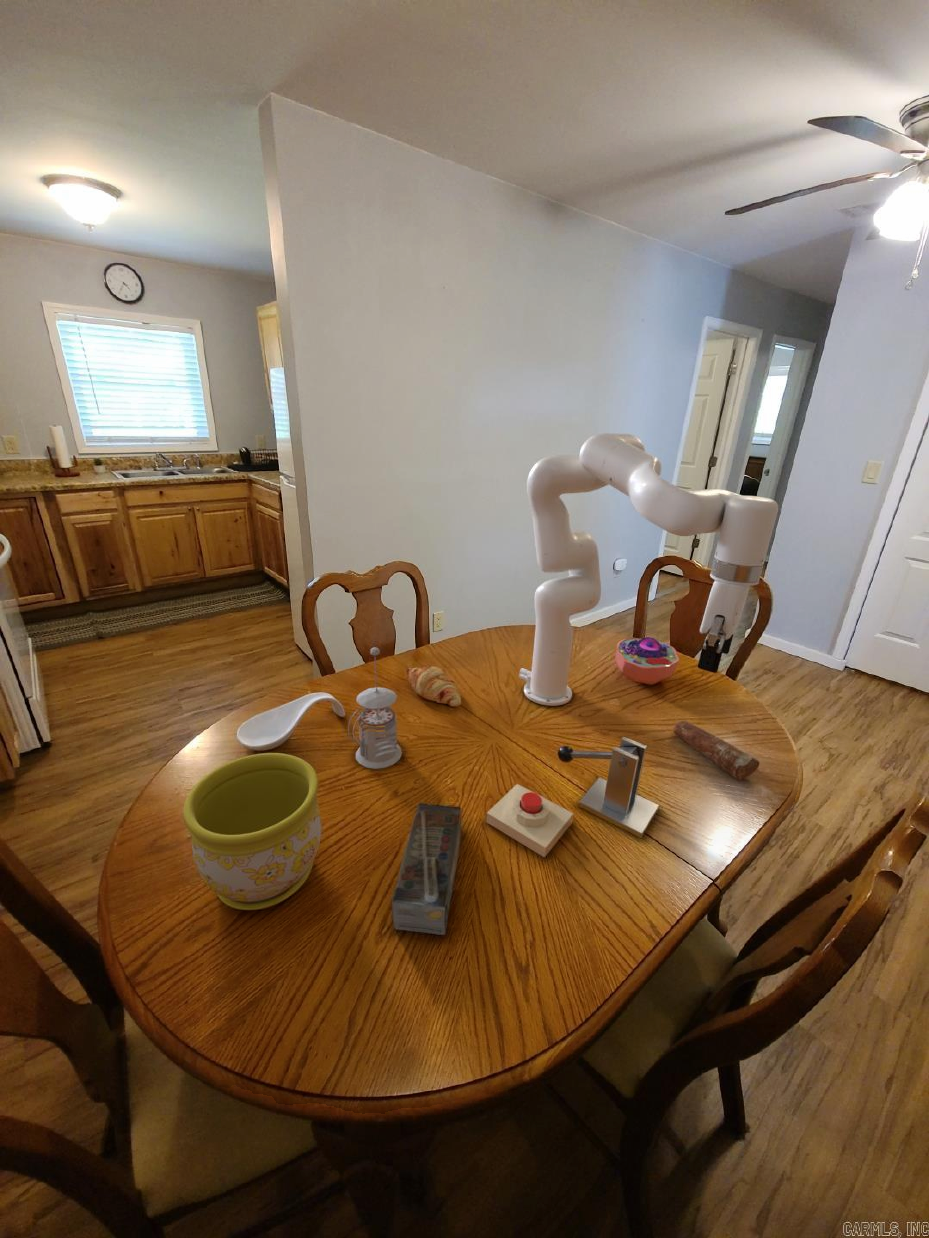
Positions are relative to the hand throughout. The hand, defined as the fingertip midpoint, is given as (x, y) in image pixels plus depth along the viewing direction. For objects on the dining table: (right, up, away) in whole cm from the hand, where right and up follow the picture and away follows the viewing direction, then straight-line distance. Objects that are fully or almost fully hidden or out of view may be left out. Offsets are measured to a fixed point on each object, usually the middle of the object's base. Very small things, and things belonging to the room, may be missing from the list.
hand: (713, 660), depth 92 cm
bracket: (-17, -28, +2) cm, 33 cm away
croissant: (-54, -12, +39) cm, 68 cm away
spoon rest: (-84, -18, +21) cm, 89 cm away
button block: (-34, -29, -2) cm, 45 cm away
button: (-34, -26, -3) cm, 43 cm away
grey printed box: (-51, -33, -13) cm, 62 cm away
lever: (-21, -19, +2) cm, 28 cm away
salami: (+8, -23, +18) cm, 30 cm away
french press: (-65, -22, +14) cm, 70 cm away
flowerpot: (-77, -33, -13) cm, 84 cm away
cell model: (+5, -9, +51) cm, 52 cm away
